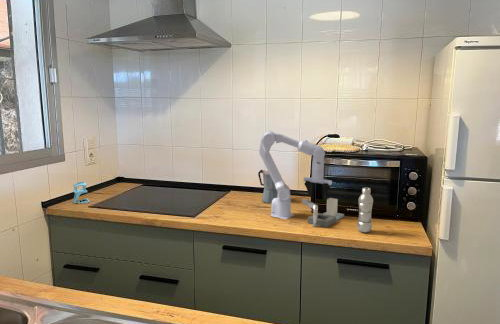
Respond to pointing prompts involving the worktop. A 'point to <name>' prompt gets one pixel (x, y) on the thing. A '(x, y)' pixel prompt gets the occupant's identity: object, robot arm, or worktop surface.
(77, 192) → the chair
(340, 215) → the tile
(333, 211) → the plug
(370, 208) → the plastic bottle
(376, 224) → the worktop surface
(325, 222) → the socket block
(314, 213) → the grey piece
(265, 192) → the moka pot
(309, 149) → the robot arm
